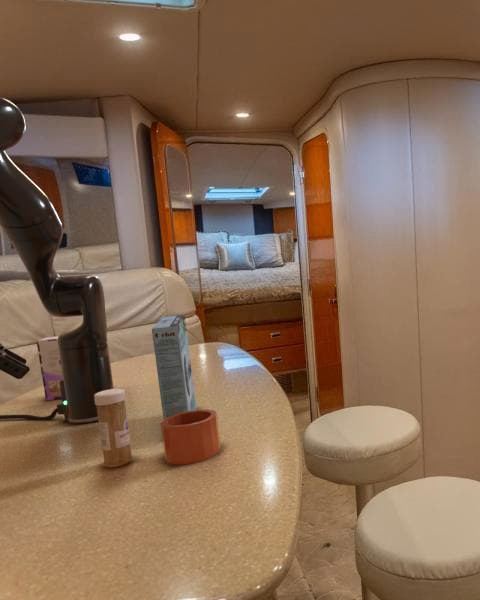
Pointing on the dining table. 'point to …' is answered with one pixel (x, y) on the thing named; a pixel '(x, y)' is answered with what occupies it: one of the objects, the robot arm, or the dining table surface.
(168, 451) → the cup
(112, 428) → the sprinkles bottle
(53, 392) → the candy box
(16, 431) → the dining table surface
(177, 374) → the gum box
